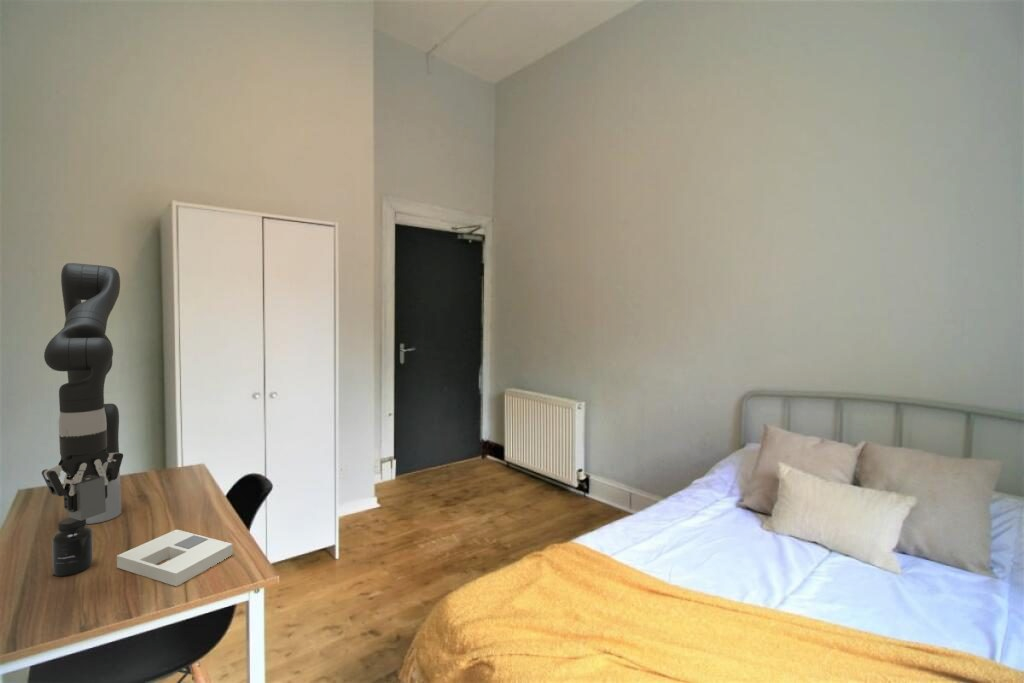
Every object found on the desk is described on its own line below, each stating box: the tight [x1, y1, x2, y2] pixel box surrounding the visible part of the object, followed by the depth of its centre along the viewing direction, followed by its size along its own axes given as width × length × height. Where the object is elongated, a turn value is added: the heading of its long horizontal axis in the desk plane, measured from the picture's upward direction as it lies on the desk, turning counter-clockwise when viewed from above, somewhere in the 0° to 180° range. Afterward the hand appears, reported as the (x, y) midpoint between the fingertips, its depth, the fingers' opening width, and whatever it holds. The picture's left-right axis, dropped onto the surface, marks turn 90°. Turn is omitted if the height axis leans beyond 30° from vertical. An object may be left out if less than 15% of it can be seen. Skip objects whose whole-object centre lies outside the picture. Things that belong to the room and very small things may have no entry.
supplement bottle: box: [51, 516, 93, 577], centre depth 108 cm, size 7×7×12 cm
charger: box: [67, 475, 106, 521], centre depth 100 cm, size 4×4×8 cm
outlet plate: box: [116, 529, 234, 587], centre depth 113 cm, size 20×14×3 cm
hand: (86, 506), depth 101 cm, fingers closed on charger, 4 cm apart
